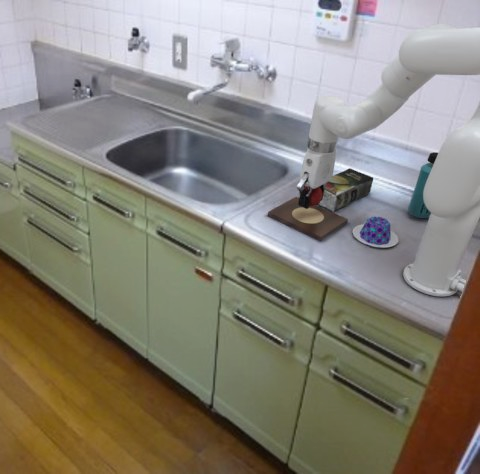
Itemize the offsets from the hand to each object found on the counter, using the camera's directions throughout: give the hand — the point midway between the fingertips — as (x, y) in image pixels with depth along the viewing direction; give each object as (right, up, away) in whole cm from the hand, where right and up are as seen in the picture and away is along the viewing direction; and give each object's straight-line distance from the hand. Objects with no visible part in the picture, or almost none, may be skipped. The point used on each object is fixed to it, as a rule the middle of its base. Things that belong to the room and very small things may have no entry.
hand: (310, 202), depth 151 cm
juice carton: (+13, +2, +15) cm, 20 cm away
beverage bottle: (+33, -4, +6) cm, 34 cm away
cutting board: (0, -5, +3) cm, 6 cm away
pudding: (+17, -10, -4) cm, 20 cm away
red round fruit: (0, -1, +1) cm, 2 cm away
